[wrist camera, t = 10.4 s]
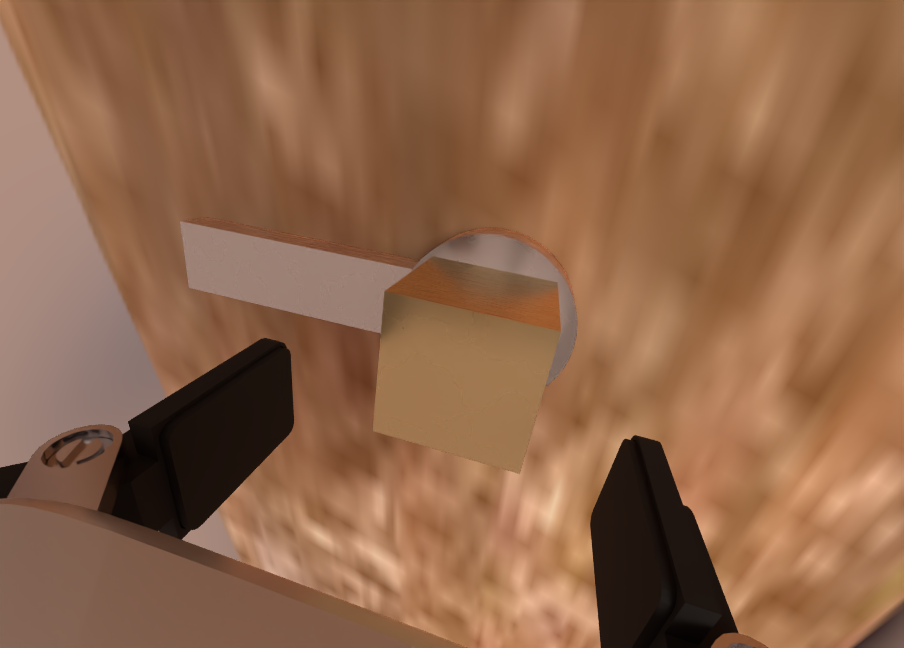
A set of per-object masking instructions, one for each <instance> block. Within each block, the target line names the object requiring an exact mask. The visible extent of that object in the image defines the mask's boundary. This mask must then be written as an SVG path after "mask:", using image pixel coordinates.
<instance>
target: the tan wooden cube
mask: <svg viewBox="0 0 904 648" xmlns="http://www.w3.org/2000/svg"><path fill="white" fill-rule="evenodd" d="M560 334H561V322H560V307H559V293H558V282H554V281H549V280H545V279H540V278H535V277H530V276H525V275H521V274H516V273H511V272H506V271H501V270H497V269H492V268H487V267H482V266H477V265H473V264H468V263H463V262H458V261H454V260H449V259H444V258H439V257H434V256H432V257H431V258H430V259H428V260H427V261H425V262H424V263H423V264H421V265H420V266H419V267H417V268H416V269H414V270H413V271H412V272H410V273H409V274H407V275H406V276H405V277H403V278H402V279H401V280H399V281H398V282H396V283H395V284H394V285H392V286H391V287H389V288H388V289H387V290H385V291H384V301H383V313H382V325H381V337H380V349H379V360H378V372H377V384H376V396H375V407H374V419H373V431H374V432H377V433H381V434H384V435H388V436H391V437H395V438H398V439H402V440H405V441H409V442H412V443H415V444H419V445H422V446H426V447H429V448H433V449H436V450H440V451H443V452H446V453H450V454H453V455H457V456H460V457H464V458H467V459H471V460H474V461H477V462H481V463H484V464H488V465H491V466H495V467H498V468H502V469H505V470H508V471H512V472H515V473H519V474H520V471H521V468H522V464H523V461H524V457H525V454H526V450H527V447H528V444H529V440H530V437H531V433H532V430H533V426H534V423H535V420H536V416H537V413H538V409H539V406H540V402H541V399H542V396H543V392H544V389H545V385H546V382H547V378H548V375H549V372H550V368H551V365H552V361H553V358H554V354H555V351H556V348H557V344H558V341H559V337H560Z"/></svg>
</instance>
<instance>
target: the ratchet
mask: <svg viewBox="0 0 904 648" xmlns="http://www.w3.org/2000/svg"><path fill="white" fill-rule="evenodd" d="M180 225H181V232H182V240H183V247H184V254H185V262H186V269H187V276H188V284H189V288H192V289H196V290H200V291H204V292H208V293H213V294H217V295H221V296H225V297H229V298H234V299H238V300H242V301H246V302H250V303H255V304H259V305H263V306H267V307H271V308H276V309H280V310H284V311H288V312H292V313H297V314H301V315H305V316H309V317H313V318H317V319H322V320H326V321H330V322H334V323H338V324H343V325H347V326H351V327H355V328H359V329H364V330H368V331H372V332H376V333H380V334H381V325H382V313H383V301H384V291H385V290H387V289H388V288H389V287H391V286H392V285H394V284H395V283H396V282H398V281H399V280H401V279H402V278H403V277H405V276H406V275H407V274H409V273H410V272H412V271H413V270H414V269H416V268H417V267H419V266H420V265H421V264H423V263H424V262H425V261H427V260H428V259H430V258H431V257H432V256H434V257H439V258H444V259H449V260H454V261H458V262H463V263H468V264H473V265H477V266H482V267H487V268H492V269H497V270H501V271H506V272H511V273H516V274H521V275H525V276H530V277H535V278H540V279H545V280H549V281H554V282H558V293H559V307H560V322H561V334H560V337H559V341H558V344H557V348H556V351H555V354H554V358H553V361H552V365H551V368H550V372H549V375H548V378H547V382H546V385H545V387H546V386H547V385H548V384H550V383H551V382H552V381H553V380H554V379H555V378H556V377H557V376H558V375H559V373H560V372H561V371H562V369H563V368H564V367H565V365H566V363H567V362H568V360H569V358H570V356H571V353H572V351H573V348H574V344H575V340H576V335H577V314H576V307H575V302H574V297H573V292H572V288H571V285H570V282H569V279H568V277H567V275H566V273H565V271H564V269H563V267H562V266H561V264H560V263H559V262H558V260H557V259H556V258H555V257H554V256H553V255H552V254H551V253H550V252H549V251H548V250H547V249H546V248H545V247H544V246H542V245H541V244H540V243H538V242H537V241H535V240H533V239H532V238H530V237H528V236H526V235H523V234H521V233H518V232H515V231H511V230H507V229H501V228H480V229H473V230H469V231H466V232H463V233H460V234H458V235H456V236H454V237H451V238H450V239H448V240H447V241H445V242H444V243H442V244H441V245H439V246H438V247H436V248H435V249H433V250H432V251H430V252H429V253H428V254H427V255H425V256H424V257H423V258H422V259H421V260H416V259H411V258H407V257H402V256H397V255H392V254H387V253H382V252H377V251H372V250H367V249H362V248H357V247H352V246H347V245H342V244H337V243H332V242H328V241H323V240H318V239H313V238H308V237H303V236H298V235H293V234H288V233H283V232H278V231H273V230H268V229H263V228H258V227H254V226H249V225H244V224H239V223H234V222H229V221H224V220H219V219H214V218H209V217H207V218H199V219H192V220H185V221H180Z"/></svg>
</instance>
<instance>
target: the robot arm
mask: <svg viewBox="0 0 904 648" xmlns="http://www.w3.org/2000/svg"><path fill="white" fill-rule="evenodd" d="M128 423H129V427H130V430H129V431H127V432H126V433H124V434H122V432H121V431H120V430H119V429H118V428H116V427H114V426H111V425H89V426H84V427H80V428H76V429H73V430H70V431H67V432H64V433H62V434H60V435H58V436H56V437H54V438H52V439H50V440H48V441H47V442H46V443H44V444H43V445H42V446H40V447H39V448H38V449H37V450H36V451H35V453H34V454H33V455H32V456H31V458H30V460H29V461H28V462H25V463H20V464H15V465H10V466H6V467H1V468H0V648H467V647H464V646H462V645H459V644H456V643H454V642H451V641H449V640H446V639H443V638H441V637H438V636H436V635H433V634H430V633H428V632H425V631H423V630H420V629H417V628H415V627H412V626H410V625H407V624H404V623H402V622H399V621H396V620H394V619H391V618H389V617H386V616H383V615H381V614H378V613H375V612H373V611H370V610H367V609H365V608H362V607H360V606H357V605H354V604H352V603H349V602H346V601H344V600H341V599H338V598H336V597H333V596H330V595H328V594H325V593H322V592H320V591H317V590H314V589H312V588H309V587H307V586H304V585H301V584H299V583H296V582H293V581H291V580H288V579H285V578H283V577H280V576H277V575H275V574H272V573H269V572H267V571H264V570H261V569H259V568H256V567H253V566H250V565H248V564H245V563H242V562H240V561H237V560H234V559H232V558H229V557H226V556H223V555H221V554H218V553H215V552H213V551H210V550H207V549H205V548H202V547H199V546H196V545H193V544H191V543H188V542H185V541H183V540H182V539H183V537H185V536H186V535H187V534H188V532H189V531H190V530H195V529H197V528H198V527H200V526H201V525H202V524H203V523H204V522H205V521H206V520H207V519H208V518H209V517H210V516H211V515H212V514H213V513H214V511H216V510H217V508H218V507H219V506H220V505H221V504H222V503H223V502H224V501H225V500H226V499H227V498H228V497H229V496H230V495H231V494H232V493H233V492H234V491H235V490H236V489H237V488H238V487H239V486H240V485H241V484H242V483H243V482H244V480H245V479H246V478H247V477H248V476H249V475H250V474H251V473H252V472H253V471H254V470H255V469H256V468H257V467H258V466H259V465H260V464H261V463H262V462H263V461H264V460H265V459H266V458H267V457H268V456H269V455H270V454H271V452H272V451H273V450H274V449H275V448H276V447H277V446H278V445H279V444H280V443H281V442H282V441H283V440H284V439H285V438H286V437H287V436H288V435H289V434H290V432H291V430H292V428H293V425H294V411H293V392H292V372H291V354H290V351H289V350H288V349H287V347H286V345H285V344H284V343H283V342H279V341H275V340H271V339H267V338H263V339H260V340H259V341H257V342H256V343H254V344H252V345H251V346H249V347H248V348H246V349H244V350H243V351H241V352H239V353H238V354H236V355H235V356H233V357H231V358H230V359H228V360H227V361H225V362H223V363H222V364H220V365H218V366H217V367H215V368H214V369H212V370H210V371H209V372H207V373H206V374H204V375H202V376H201V377H199V378H197V379H196V380H194V381H193V382H191V383H189V384H188V385H186V386H185V387H183V388H181V389H180V390H178V391H176V392H175V393H173V394H172V395H170V396H168V397H167V398H165V399H164V400H162V401H160V402H159V403H157V404H155V405H154V406H152V407H151V408H149V409H147V410H146V411H144V412H143V413H141V414H139V415H138V416H136V417H135V418H133V419H131V420H130V421H128ZM590 526H591V539H592V550H593V562H594V573H595V585H596V596H597V608H598V619H599V630H600V642H601V648H768V647H767V646H765V645H764V644H762V643H761V642H759V641H757V640H755V639H753V638H751V637H749V636H746V635H742V634H739V633H738V630H737V628H736V625H735V622H734V620H733V617H732V614H731V612H730V609H729V606H728V604H727V601H726V599H725V596H724V593H723V591H722V588H721V585H720V583H719V580H718V577H717V575H716V572H715V569H714V567H713V564H712V561H711V559H710V556H709V554H708V551H707V548H706V546H705V543H704V540H703V538H702V535H701V532H700V530H699V527H698V524H697V522H696V519H695V517H694V515H693V513H692V511H691V509H690V508H688V507H687V506H684V505H683V504H682V501H681V498H680V495H679V492H678V490H677V487H676V484H675V481H674V478H673V476H672V473H671V470H670V467H669V464H668V462H667V459H666V456H665V453H664V450H663V448H662V445H661V443H660V442H658V441H655V440H651V439H648V438H644V437H640V436H636V435H635V436H633V437H632V438H631V440H628V439H624V440H623V442H622V444H621V446H620V448H619V451H618V453H617V455H616V458H615V460H614V463H613V465H612V467H611V470H610V472H609V474H608V477H607V479H606V481H605V484H604V486H603V488H602V491H601V493H600V495H599V498H598V500H597V502H596V505H595V507H594V509H593V512H592V516H591V523H590ZM158 531H159V532H158Z"/></svg>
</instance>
